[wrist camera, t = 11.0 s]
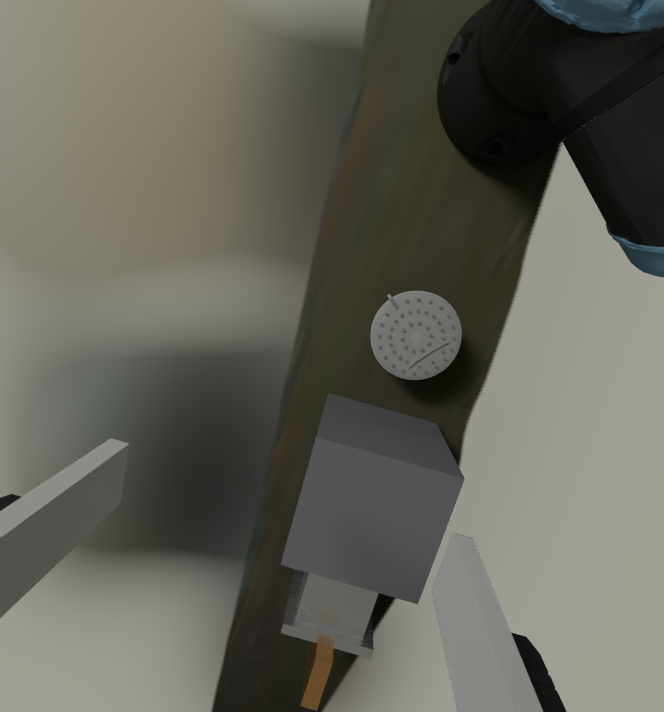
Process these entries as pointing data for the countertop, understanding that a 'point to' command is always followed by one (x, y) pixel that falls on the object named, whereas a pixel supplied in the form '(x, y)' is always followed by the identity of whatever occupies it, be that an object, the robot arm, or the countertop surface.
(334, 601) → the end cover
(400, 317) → the showerhead
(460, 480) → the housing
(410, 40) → the countertop surface
